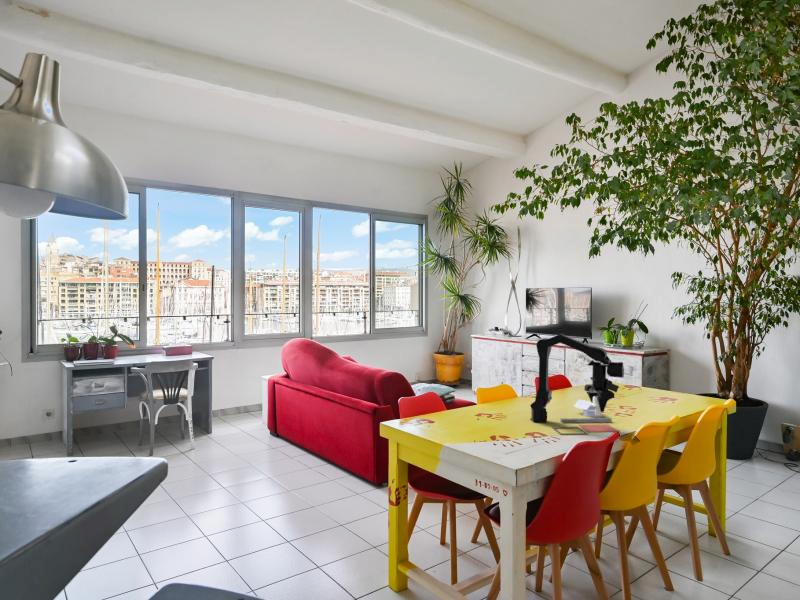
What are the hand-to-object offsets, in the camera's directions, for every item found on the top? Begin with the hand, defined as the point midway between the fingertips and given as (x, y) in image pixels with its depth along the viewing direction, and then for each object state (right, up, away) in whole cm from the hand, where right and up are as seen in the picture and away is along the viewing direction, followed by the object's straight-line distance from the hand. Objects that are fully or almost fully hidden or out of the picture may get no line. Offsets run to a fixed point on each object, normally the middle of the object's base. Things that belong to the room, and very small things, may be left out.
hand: (598, 409), depth 239 cm
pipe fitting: (0, -2, 0) cm, 2 cm away
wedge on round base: (+6, -8, +27) cm, 29 cm away
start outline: (-15, -9, -5) cm, 18 cm away
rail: (-1, -8, +12) cm, 15 cm away
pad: (0, -9, 0) cm, 9 cm away
